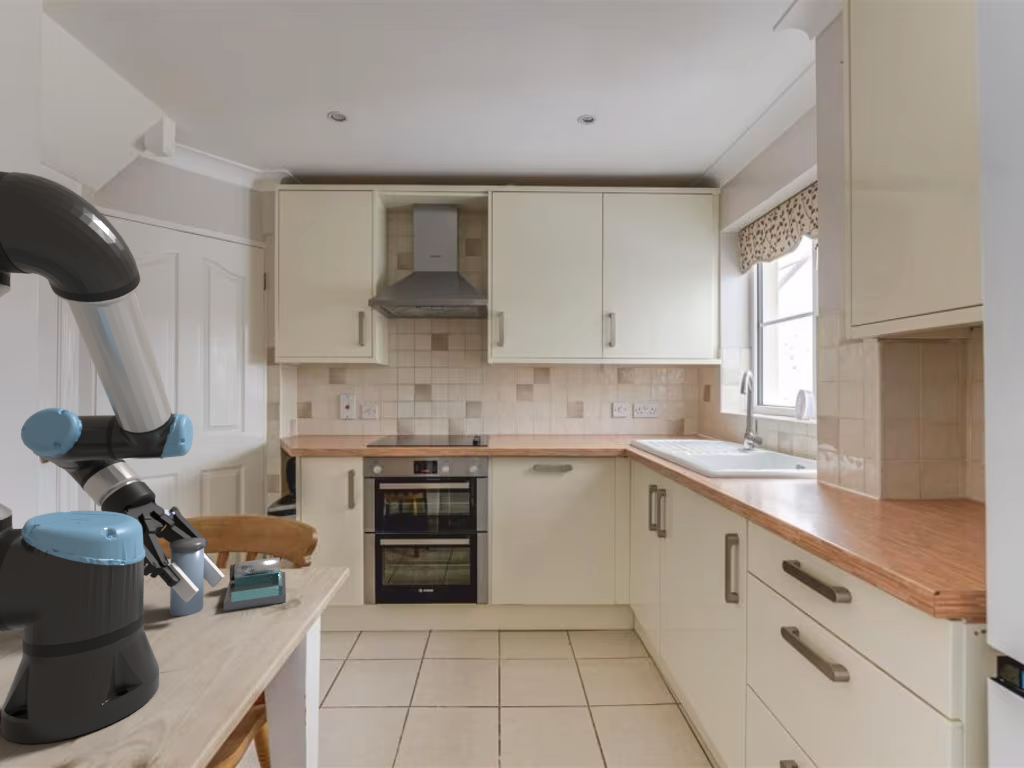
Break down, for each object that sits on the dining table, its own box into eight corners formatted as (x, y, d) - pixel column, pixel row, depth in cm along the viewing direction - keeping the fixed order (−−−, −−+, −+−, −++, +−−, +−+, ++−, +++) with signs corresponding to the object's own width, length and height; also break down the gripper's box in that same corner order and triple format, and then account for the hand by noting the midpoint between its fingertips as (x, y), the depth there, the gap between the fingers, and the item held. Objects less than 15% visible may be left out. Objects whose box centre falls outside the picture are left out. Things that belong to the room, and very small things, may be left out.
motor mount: (285, 602, 96) (285, 574, 96) (223, 611, 92) (223, 582, 92) (285, 579, 108) (285, 554, 108) (230, 586, 104) (230, 560, 104)
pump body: (202, 613, 91) (203, 544, 91) (165, 618, 89) (166, 547, 89) (206, 602, 96) (207, 536, 96) (171, 606, 94) (172, 539, 94)
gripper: (150, 497, 104) (227, 583, 102) (56, 521, 85) (149, 627, 83) (174, 471, 103) (252, 557, 102) (86, 489, 85) (180, 595, 83)
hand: (205, 588), depth 92 cm, fingers open, 6 cm apart
